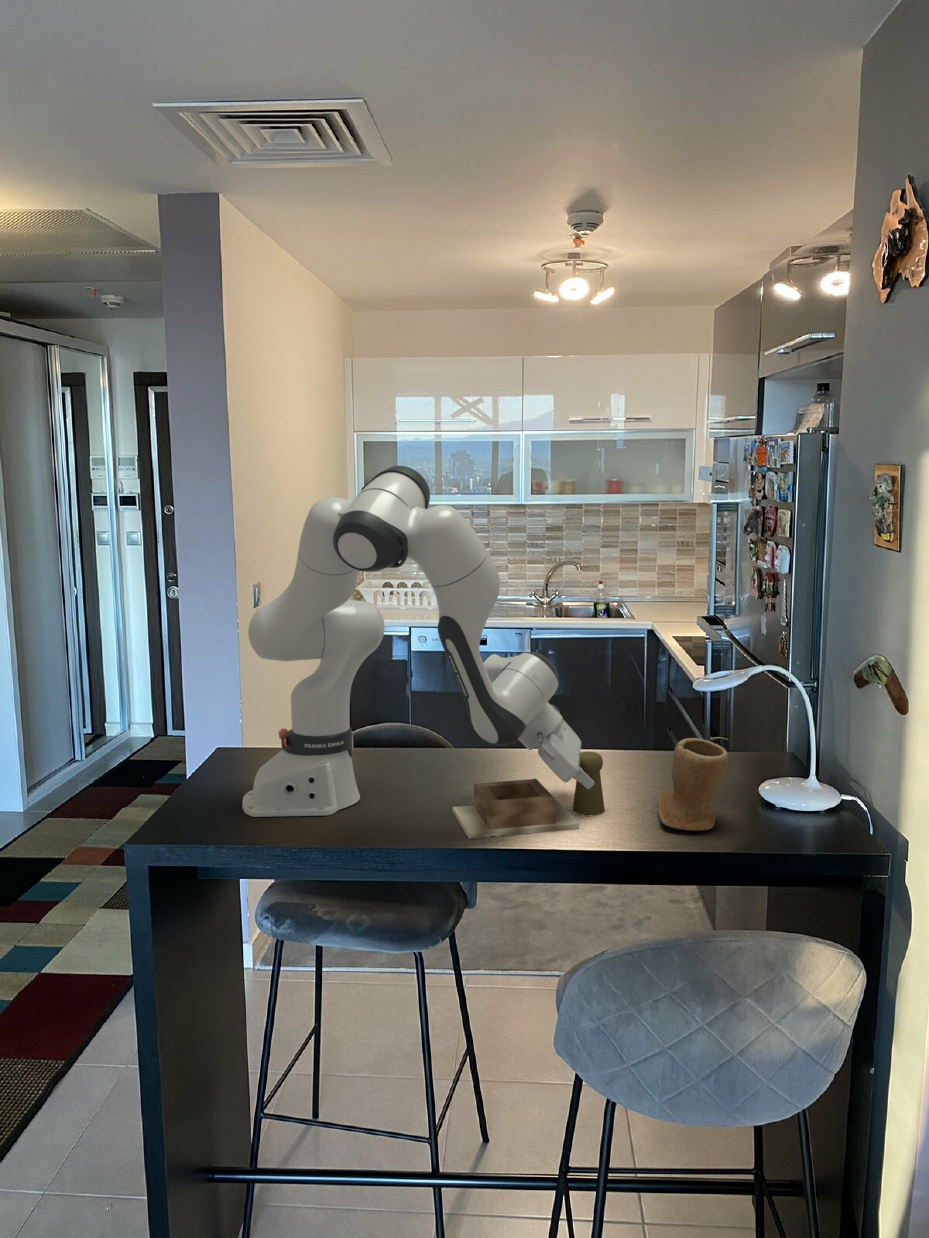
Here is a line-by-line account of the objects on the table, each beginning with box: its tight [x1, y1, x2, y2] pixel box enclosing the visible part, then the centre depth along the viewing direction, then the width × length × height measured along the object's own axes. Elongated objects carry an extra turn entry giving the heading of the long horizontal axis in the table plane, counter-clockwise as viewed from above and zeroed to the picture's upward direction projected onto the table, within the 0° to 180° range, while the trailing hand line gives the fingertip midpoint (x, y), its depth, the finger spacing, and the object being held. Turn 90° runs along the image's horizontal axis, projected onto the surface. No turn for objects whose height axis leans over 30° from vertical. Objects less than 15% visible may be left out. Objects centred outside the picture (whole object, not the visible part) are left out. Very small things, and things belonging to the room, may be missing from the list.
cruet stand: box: [451, 778, 580, 839], centre depth 175 cm, size 20×14×6 cm
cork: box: [572, 751, 606, 816], centre depth 180 cm, size 6×6×11 cm
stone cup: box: [657, 737, 729, 832], centre depth 173 cm, size 15×12×15 cm
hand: (592, 779), depth 179 cm, fingers open, 6 cm apart
